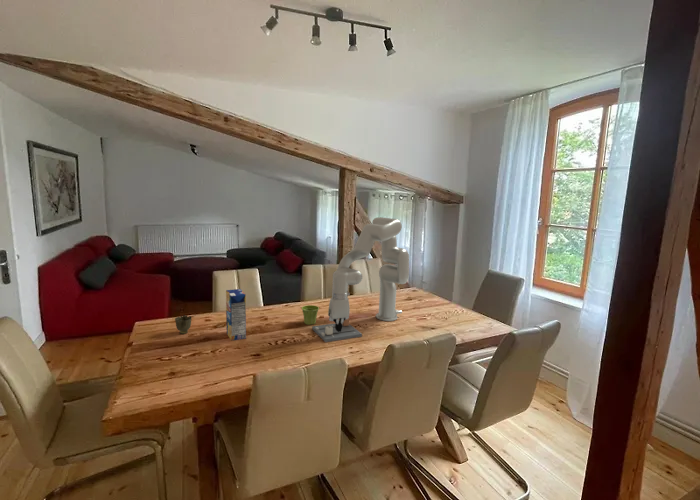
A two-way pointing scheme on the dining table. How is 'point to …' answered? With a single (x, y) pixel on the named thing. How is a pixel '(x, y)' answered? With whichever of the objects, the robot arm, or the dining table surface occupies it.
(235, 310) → the beverage box
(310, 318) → the plant pot
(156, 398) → the dining table surface
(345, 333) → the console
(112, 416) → the dining table surface
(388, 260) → the robot arm
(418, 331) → the dining table surface
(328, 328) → the fader ivory
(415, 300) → the dining table surface
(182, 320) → the cup
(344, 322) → the fader rust
